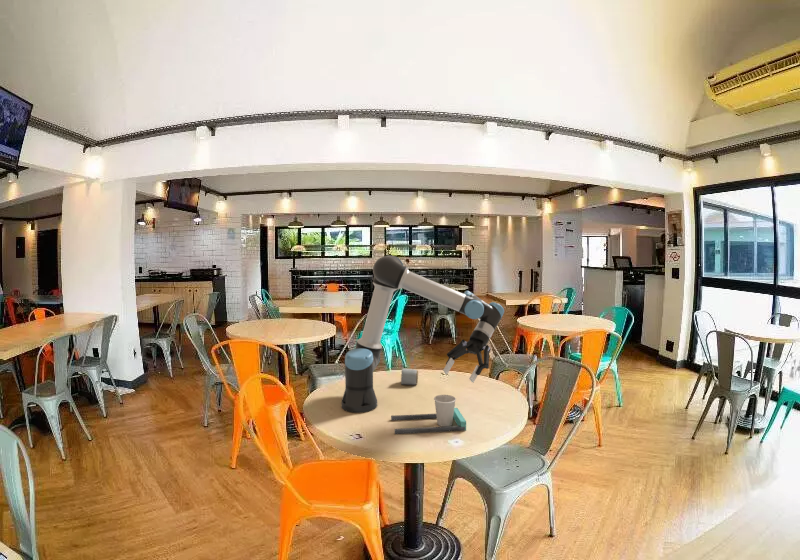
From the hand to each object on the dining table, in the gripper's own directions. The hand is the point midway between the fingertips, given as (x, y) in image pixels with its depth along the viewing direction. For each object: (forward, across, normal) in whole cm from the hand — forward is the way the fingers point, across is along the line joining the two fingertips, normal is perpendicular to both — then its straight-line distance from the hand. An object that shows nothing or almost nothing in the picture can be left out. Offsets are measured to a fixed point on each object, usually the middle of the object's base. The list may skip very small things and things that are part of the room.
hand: (457, 376), depth 176 cm
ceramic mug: (+2, +41, -20) cm, 46 cm away
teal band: (+16, -7, -6) cm, 18 cm away
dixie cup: (+19, -3, -3) cm, 19 cm away
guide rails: (+23, +1, +1) cm, 23 cm away
